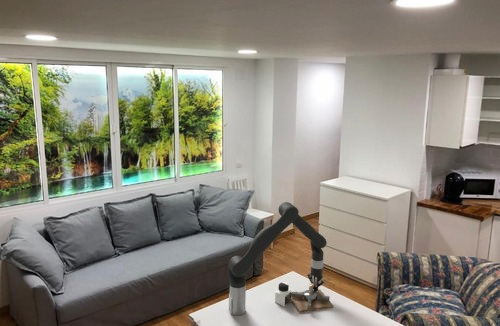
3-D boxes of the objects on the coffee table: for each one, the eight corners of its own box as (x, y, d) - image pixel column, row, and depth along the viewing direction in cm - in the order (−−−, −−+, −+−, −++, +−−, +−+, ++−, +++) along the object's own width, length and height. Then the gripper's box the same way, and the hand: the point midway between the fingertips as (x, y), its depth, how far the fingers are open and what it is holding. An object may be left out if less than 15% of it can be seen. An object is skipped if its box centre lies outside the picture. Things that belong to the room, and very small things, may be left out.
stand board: (298, 313, 223) (298, 310, 223) (287, 296, 240) (287, 293, 240) (333, 307, 229) (333, 304, 229) (319, 291, 246) (320, 288, 246)
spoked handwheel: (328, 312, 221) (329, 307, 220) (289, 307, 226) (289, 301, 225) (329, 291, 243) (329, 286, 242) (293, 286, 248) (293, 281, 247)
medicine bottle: (284, 306, 229) (285, 288, 227) (274, 302, 233) (275, 284, 231) (291, 301, 235) (291, 283, 232) (281, 297, 239) (281, 279, 236)
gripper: (304, 263, 240) (303, 288, 244) (322, 271, 231) (320, 297, 235) (312, 260, 245) (310, 284, 249) (329, 267, 236) (327, 292, 240)
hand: (315, 290), depth 242 cm, fingers closed
